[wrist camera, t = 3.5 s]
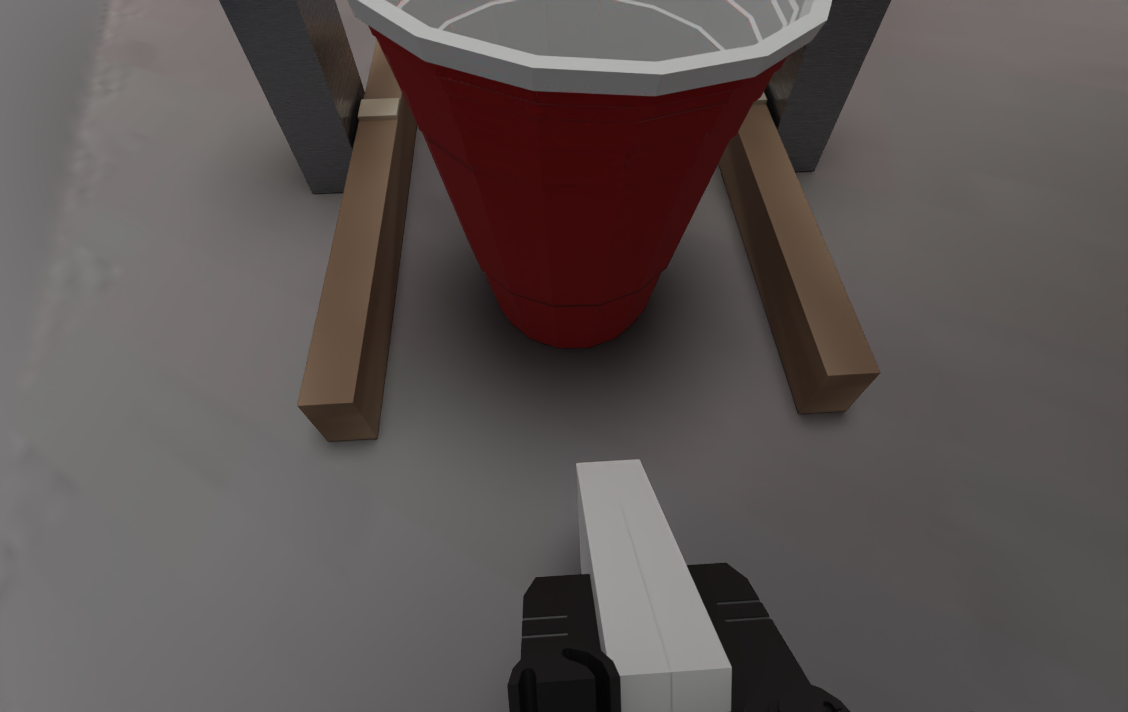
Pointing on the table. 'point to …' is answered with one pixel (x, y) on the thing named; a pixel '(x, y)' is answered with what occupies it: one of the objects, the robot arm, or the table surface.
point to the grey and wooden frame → (382, 176)
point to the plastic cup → (581, 134)
